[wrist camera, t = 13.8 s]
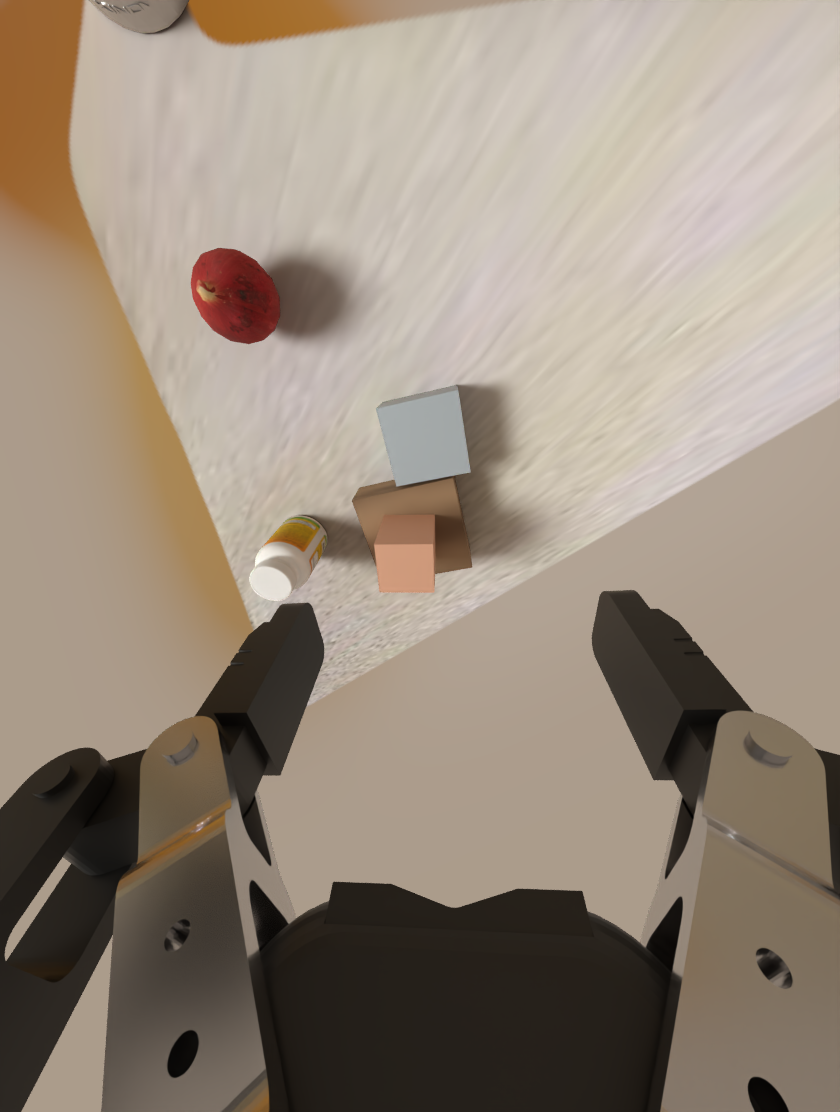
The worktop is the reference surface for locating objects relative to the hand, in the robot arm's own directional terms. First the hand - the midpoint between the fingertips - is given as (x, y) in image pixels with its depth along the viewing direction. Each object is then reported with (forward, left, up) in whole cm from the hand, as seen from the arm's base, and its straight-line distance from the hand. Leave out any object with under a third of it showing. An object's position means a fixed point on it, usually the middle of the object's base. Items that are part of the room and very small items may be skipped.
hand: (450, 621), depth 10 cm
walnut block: (+10, -4, -28) cm, 30 cm away
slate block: (+1, -2, -28) cm, 28 cm away
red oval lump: (-11, -15, -28) cm, 34 cm away
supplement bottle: (+11, -17, -28) cm, 35 cm away
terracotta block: (+10, -4, -24) cm, 27 cm away
